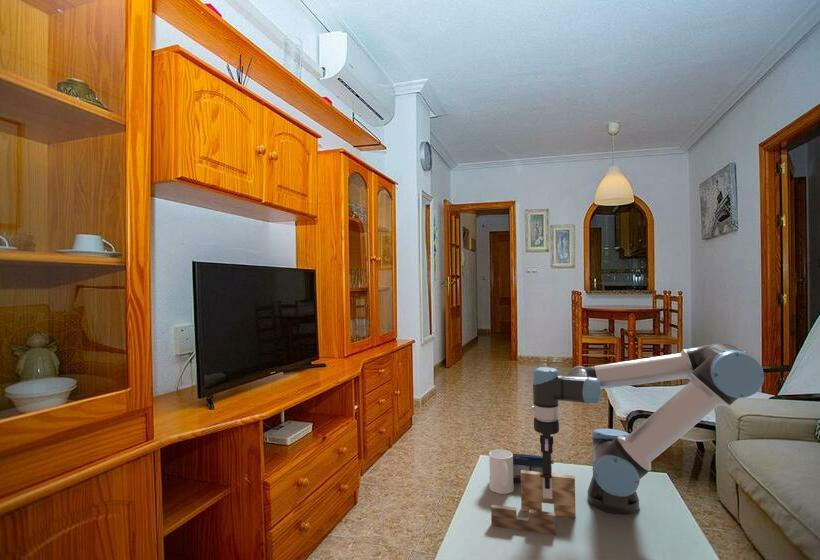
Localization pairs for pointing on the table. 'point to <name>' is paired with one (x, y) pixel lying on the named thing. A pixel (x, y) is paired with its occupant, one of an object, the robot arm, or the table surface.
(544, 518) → the standing plate
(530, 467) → the vhs cassette tape
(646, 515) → the table surface
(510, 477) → the mug
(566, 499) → the cross plate
